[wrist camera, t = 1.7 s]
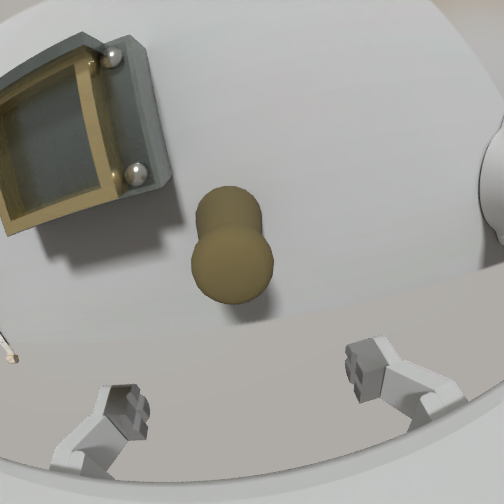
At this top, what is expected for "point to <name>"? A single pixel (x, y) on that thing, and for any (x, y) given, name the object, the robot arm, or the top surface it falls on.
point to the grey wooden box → (78, 131)
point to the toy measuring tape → (8, 352)
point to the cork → (231, 247)
